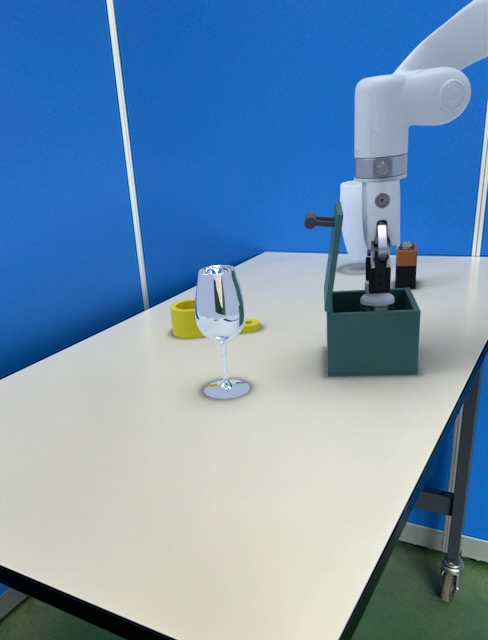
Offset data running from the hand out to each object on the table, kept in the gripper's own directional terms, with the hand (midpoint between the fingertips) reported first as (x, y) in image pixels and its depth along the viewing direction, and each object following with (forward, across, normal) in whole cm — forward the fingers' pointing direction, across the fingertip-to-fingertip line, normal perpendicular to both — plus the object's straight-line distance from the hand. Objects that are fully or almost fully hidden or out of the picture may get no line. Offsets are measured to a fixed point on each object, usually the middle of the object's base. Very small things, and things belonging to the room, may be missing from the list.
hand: (377, 285), depth 100 cm
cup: (+14, +62, -1) cm, 63 cm away
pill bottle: (+9, 0, 0) cm, 9 cm away
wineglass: (+13, -10, +24) cm, 30 cm away
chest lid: (-5, 0, +6) cm, 8 cm away
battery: (+14, +44, -10) cm, 48 cm away
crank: (+14, +18, +30) cm, 38 cm away
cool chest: (+13, 0, +1) cm, 13 cm away
